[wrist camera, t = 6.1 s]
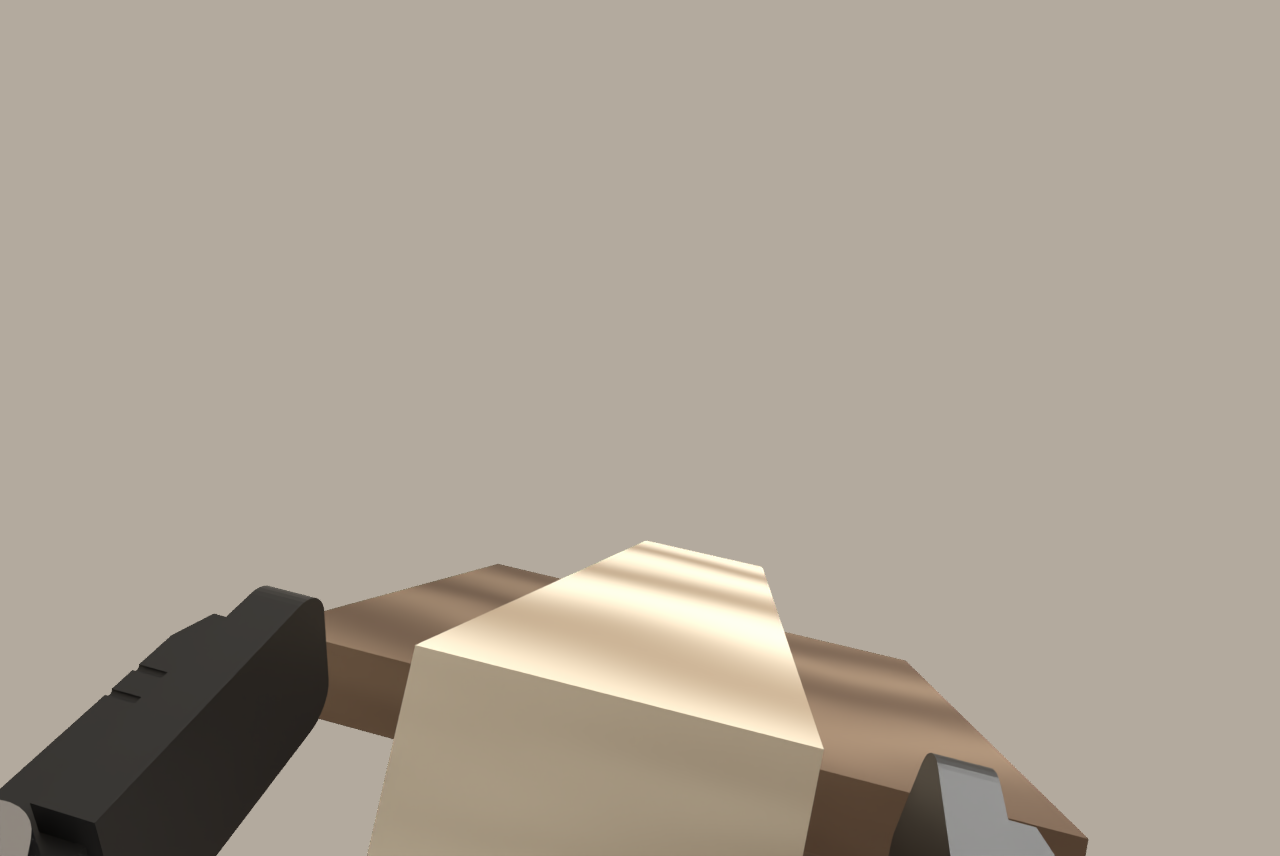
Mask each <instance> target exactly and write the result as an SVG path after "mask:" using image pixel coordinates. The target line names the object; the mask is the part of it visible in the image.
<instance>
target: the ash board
mask: <svg viewBox="0 0 1280 856" xmlns="http://www.w3.org/2000/svg"><path fill="white" fill-rule="evenodd" d="M823 751H824V748H823V745H822V743H821V740H820V737H819V734H818V731H817V728H816V725H815V722H814V719H813V716H812V713H811V710H810V707H809V704H808V701H807V698H806V695H805V692H804V689H803V686H802V683H801V680H800V677H799V674H798V671H797V668H796V666H795V663H794V660H793V657H792V654H791V651H790V648H789V645H788V642H787V639H786V636H785V633H784V630H783V627H782V624H781V621H780V618H779V615H778V612H777V609H776V606H775V604H774V601H773V598H772V595H771V592H770V589H769V586H768V583H767V580H766V577H765V574H764V571H763V568H762V567H760V566H756V565H751V564H747V563H743V562H738V561H733V560H729V559H725V558H720V557H716V556H712V555H707V554H703V553H698V552H694V551H690V550H685V549H681V548H676V547H672V546H668V545H663V544H659V543H654V542H650V541H644V542H642V543H640V544H638V545H635V546H633V547H631V548H629V549H627V550H624V551H622V552H620V553H618V554H616V555H613V556H611V557H609V558H607V559H604V560H602V561H600V562H598V563H596V564H594V565H591V566H589V567H587V568H585V569H582V570H580V571H578V572H576V573H574V574H571V575H569V576H567V577H565V578H562V579H560V580H558V581H556V582H554V583H551V584H549V585H547V586H545V587H543V588H540V589H538V590H536V591H534V592H532V593H529V594H527V595H525V596H523V597H520V598H518V599H516V600H514V601H512V602H509V603H507V604H505V605H503V606H501V607H498V608H496V609H494V610H492V611H490V612H487V613H485V614H483V615H481V616H478V617H476V618H474V619H472V620H470V621H467V622H465V623H463V624H461V625H459V626H456V627H454V628H452V629H450V630H448V631H445V632H443V633H441V634H439V635H436V636H434V637H432V638H430V639H428V640H425V641H423V642H421V643H419V644H417V645H415V649H414V653H413V658H412V662H411V666H410V671H409V675H408V679H407V684H406V688H405V692H404V697H403V701H402V705H401V710H400V714H399V719H398V723H397V727H396V732H395V736H394V740H393V745H392V749H391V754H390V758H389V762H388V766H387V771H386V775H385V780H384V784H383V789H382V793H381V797H380V801H379V806H378V810H377V815H376V819H375V823H374V828H373V832H372V837H371V841H370V845H369V849H368V854H367V856H803V852H804V847H805V842H806V837H807V832H808V826H809V821H810V816H811V811H812V806H813V801H814V796H815V791H816V786H817V781H818V776H819V771H820V766H821V761H822V756H823Z"/></svg>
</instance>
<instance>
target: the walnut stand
mask: <svg viewBox="0 0 1280 856" xmlns="http://www.w3.org/2000/svg"><path fill="white" fill-rule="evenodd" d="M558 580H560V579H559V578H555V577H551V576H547V575H542V574H537V573H534V572H529V571H525V570H521V569H517V568H512V567H508V566H504V565H500V564H496V565H493V566H489V567H485V568H482V569H478V570H474V571H471V572H467V573H463V574H459V575H456V576H452V577H448V578H445V579H441V580H437V581H433V582H430V583H426V584H422V585H419V586H415V587H411V588H408V589H404V590H400V591H397V592H393V593H389V594H386V595H382V596H378V597H375V598H371V599H367V600H363V601H360V602H356V603H352V604H349V605H345V606H341V607H338V608H334V609H330V610H327V611H324V615H325V630H326V646H327V661H328V676H329V686H328V693H327V698H326V701H325V704H324V707H323V710H322V712H321V715H320V717H319V719H322V720H326V721H329V722H333V723H336V724H340V725H344V726H347V727H351V728H355V729H358V730H362V731H366V732H370V733H373V734H377V735H381V736H384V737H388V738H391V739H394V736H395V732H396V727H397V723H398V719H399V714H400V710H401V705H402V701H403V697H404V692H405V688H406V684H407V679H408V675H409V671H410V666H411V662H412V658H413V653H414V649H415V645H417V644H419V643H421V642H423V641H425V640H428V639H430V638H432V637H434V636H436V635H439V634H441V633H443V632H445V631H448V630H450V629H452V628H454V627H456V626H459V625H461V624H463V623H465V622H467V621H470V620H472V619H474V618H476V617H478V616H481V615H483V614H485V613H487V612H490V611H492V610H494V609H496V608H498V607H501V606H503V605H505V604H507V603H509V602H512V601H514V600H516V599H518V598H520V597H523V596H525V595H527V594H529V593H532V592H534V591H536V590H538V589H540V588H543V587H545V586H547V585H549V584H551V583H554V582H556V581H558ZM784 633H785V636H786V639H787V642H788V645H789V648H790V651H791V654H792V657H793V660H794V663H795V666H796V668H797V671H798V674H799V677H800V680H801V683H802V686H803V689H804V692H805V695H806V698H807V701H808V704H809V707H810V710H811V713H812V716H813V719H814V722H815V725H816V728H817V731H818V734H819V737H820V740H821V743H822V745H823V748H824V751H823V756H822V761H821V766H820V771H819V776H818V781H817V786H816V791H815V796H814V801H813V806H812V811H811V816H810V821H809V826H808V832H807V837H806V842H805V847H804V852H803V856H889V852H890V846H891V842H892V838H893V834H894V831H895V829H896V826H897V824H898V821H899V819H900V816H901V814H902V811H903V809H904V806H905V804H906V801H907V799H908V796H909V794H910V791H911V789H912V786H913V784H914V781H915V779H916V776H917V774H918V771H919V769H920V766H921V764H922V762H923V760H924V758H925V756H926V755H927V754H928V753H934V754H938V755H942V756H946V757H950V758H954V759H958V760H961V761H965V762H969V763H973V764H977V765H981V766H985V767H989V768H992V769H994V770H995V772H996V773H997V775H998V778H999V781H1000V785H1001V789H1002V794H1003V798H1004V803H1005V807H1006V812H1007V816H1008V820H1010V821H1014V822H1018V823H1022V824H1025V825H1029V826H1033V827H1036V828H1037V829H1038V831H1039V832H1040V834H1041V835H1042V837H1043V838H1044V840H1045V841H1046V843H1047V844H1048V846H1049V847H1050V849H1051V850H1052V852H1053V853H1054V855H1055V856H1085V855H1086V849H1087V844H1088V838H1087V837H1086V836H1085V835H1084V834H1083V833H1082V832H1081V831H1080V830H1079V829H1078V828H1077V827H1076V826H1075V825H1074V824H1072V822H1070V821H1069V820H1068V819H1067V818H1066V817H1065V816H1064V815H1063V814H1062V813H1061V812H1060V811H1059V810H1058V809H1057V808H1056V807H1055V806H1054V805H1053V804H1052V803H1051V802H1050V801H1049V800H1048V799H1047V798H1046V797H1045V796H1044V795H1043V794H1042V793H1041V792H1040V791H1038V789H1037V788H1036V787H1035V786H1034V785H1032V784H1031V783H1030V782H1029V781H1028V780H1027V779H1026V778H1025V777H1024V776H1023V775H1022V774H1021V773H1020V772H1019V771H1018V770H1017V769H1016V768H1015V767H1014V766H1013V765H1012V764H1011V763H1010V762H1009V761H1008V760H1007V759H1006V758H1005V757H1004V756H1003V755H1002V754H1001V753H999V751H998V750H997V749H996V748H995V747H993V746H992V745H991V744H990V743H989V742H988V741H987V740H986V739H985V738H984V737H983V736H982V735H981V734H980V733H979V732H978V731H977V730H976V729H975V728H974V727H973V726H972V725H971V724H970V723H969V722H968V721H967V720H966V719H965V718H964V717H963V716H962V715H961V714H960V713H959V712H958V711H957V710H956V709H954V707H952V706H951V705H950V704H949V703H948V702H947V701H946V700H945V699H944V698H943V697H942V696H941V695H940V694H939V693H938V692H937V691H936V690H935V689H934V688H933V687H932V686H931V685H930V684H929V683H928V682H927V681H926V680H925V679H924V678H923V677H922V676H921V675H920V674H918V672H917V671H915V669H913V668H912V667H911V666H910V665H909V664H908V663H907V662H906V661H904V660H901V659H896V658H892V657H888V656H884V655H880V654H875V653H871V652H867V651H863V650H858V649H854V648H850V647H846V646H842V645H837V644H833V643H829V642H825V641H820V640H816V639H812V638H808V637H803V636H800V635H795V634H791V633H787V632H784Z"/></svg>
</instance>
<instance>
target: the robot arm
mask: <svg viewBox="0 0 1280 856" xmlns="http://www.w3.org/2000/svg"><path fill="white" fill-rule="evenodd" d="M328 686H329V676H328V661H327V646H326V630H325V615H324V607H323V604H322V602H321V601H320V600H319V599H317V598H313V597H309V596H305V595H302V594H298V593H293V592H290V591H286V590H282V589H278V588H274V587H270V586H262V587H259V588H258V589H256V590H255V591H253V592H252V593H251V594H250V595H249V596H248V597H247V598H246V599H245V600H244V601H243V602H242V603H240V604H239V605H238V606H237V607H236V608H235V609H234V610H233V611H232V612H231V613H230V614H229V615H228V616H227V617H224V616H220V615H217V614H212V615H210V616H208V617H207V618H204V619H203V620H201V621H199V622H197V623H195V624H193V625H191V626H189V627H187V628H185V629H183V630H181V631H179V632H177V633H175V634H173V635H172V636H170V637H169V638H168V639H167V640H166V641H165V642H164V643H162V644H161V645H160V646H159V647H158V648H157V649H156V650H155V651H154V652H153V653H151V654H150V655H149V656H148V657H147V658H146V659H145V660H144V661H143V662H141V663H140V664H139V668H138V670H137V671H133V670H132V671H131V672H130V673H129V674H128V675H127V676H126V677H125V678H123V679H122V680H121V681H120V682H119V683H118V684H117V685H116V686H115V687H113V688H112V692H111V694H110V695H109V696H107V695H105V696H103V697H102V698H101V699H100V700H99V701H98V702H97V703H96V704H94V705H93V706H92V707H91V708H90V709H89V710H88V711H87V712H85V713H84V714H83V715H82V716H81V717H80V718H79V719H78V720H77V721H75V722H74V723H73V724H72V725H71V726H70V727H69V728H68V729H67V730H65V731H64V732H63V733H62V734H61V735H60V736H59V737H57V738H56V739H55V740H54V741H53V742H52V743H51V744H50V745H49V746H47V747H46V748H45V749H44V750H43V751H42V752H41V753H40V754H39V755H38V756H36V757H35V758H34V759H33V760H32V761H31V762H30V763H28V764H27V765H26V766H25V767H24V768H23V769H22V770H21V771H20V772H19V773H17V774H16V775H15V776H14V777H13V778H12V779H11V780H9V781H8V782H7V783H6V784H5V785H4V786H3V787H2V788H1V789H0V856H216V855H217V854H218V853H219V851H220V850H221V849H222V847H223V846H224V845H225V844H226V842H227V841H228V840H229V838H230V837H231V836H232V834H233V833H234V832H235V830H236V829H237V828H238V826H239V825H240V824H241V822H242V821H243V820H244V819H245V817H246V816H247V814H248V813H249V812H250V811H251V809H252V808H253V807H254V805H255V804H256V803H257V801H258V800H259V799H260V797H261V796H262V795H263V794H264V792H265V791H266V790H267V788H268V787H269V785H270V784H271V783H272V782H273V780H274V779H275V778H276V776H277V775H278V774H279V772H280V771H281V770H282V769H283V767H284V766H285V765H286V763H287V762H288V760H289V759H290V758H291V757H292V755H293V754H294V753H295V751H296V750H297V749H298V747H299V746H300V745H301V744H302V742H303V741H304V740H305V738H306V737H307V736H308V734H309V733H310V732H311V730H312V729H313V727H314V726H315V724H316V722H317V721H318V719H319V717H320V715H321V712H322V710H323V707H324V704H325V701H326V698H327V693H328ZM889 856H1055V855H1054V853H1053V852H1052V850H1051V849H1050V847H1049V846H1048V844H1047V843H1046V841H1045V840H1044V838H1043V837H1042V835H1041V834H1040V832H1039V831H1038V829H1037V828H1036V827H1033V826H1029V825H1025V824H1022V823H1018V822H1014V821H1010V820H1008V816H1007V812H1006V807H1005V803H1004V798H1003V794H1002V789H1001V785H1000V781H999V778H998V775H997V773H996V772H995V770H994V769H992V768H989V767H985V766H981V765H977V764H973V763H969V762H965V761H961V760H958V759H954V758H950V757H946V756H942V755H938V754H934V753H928V754H927V755H926V756H925V758H924V760H923V762H922V764H921V766H920V769H919V771H918V774H917V776H916V779H915V781H914V784H913V786H912V789H911V791H910V794H909V796H908V799H907V801H906V804H905V806H904V809H903V811H902V814H901V816H900V819H899V821H898V824H897V826H896V829H895V831H894V834H893V838H892V842H891V846H890V852H889Z"/></svg>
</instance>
